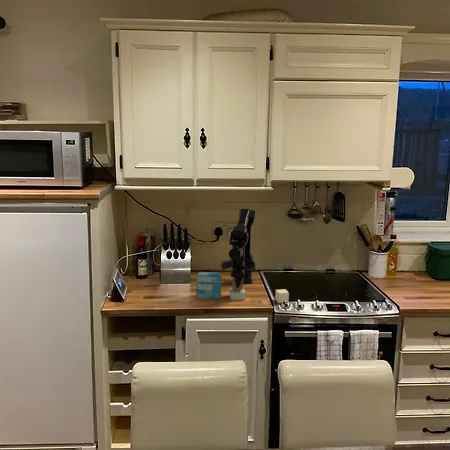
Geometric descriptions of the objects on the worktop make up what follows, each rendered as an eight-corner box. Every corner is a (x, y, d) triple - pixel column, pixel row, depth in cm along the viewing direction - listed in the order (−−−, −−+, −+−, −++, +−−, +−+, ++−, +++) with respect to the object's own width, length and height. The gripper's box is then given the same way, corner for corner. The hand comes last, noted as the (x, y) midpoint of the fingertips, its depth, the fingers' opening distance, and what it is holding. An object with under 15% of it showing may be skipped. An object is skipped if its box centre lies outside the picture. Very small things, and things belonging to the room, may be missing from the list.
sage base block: (229, 295, 231) (229, 288, 231) (243, 295, 232) (243, 287, 231) (231, 300, 224) (231, 292, 224) (245, 300, 225) (245, 292, 225)
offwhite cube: (275, 299, 227) (275, 289, 226) (285, 299, 228) (285, 289, 227) (278, 303, 222) (278, 293, 221) (288, 302, 223) (288, 292, 222)
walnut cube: (232, 286, 230) (233, 276, 229) (242, 286, 230) (243, 276, 229) (232, 289, 225) (232, 279, 224) (242, 289, 225) (243, 279, 224)
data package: (196, 298, 226) (196, 274, 224) (196, 295, 230) (197, 272, 228) (220, 299, 226) (221, 275, 223) (221, 296, 230) (221, 272, 228)
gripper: (223, 249, 234) (222, 279, 237) (220, 259, 215) (219, 291, 218) (245, 250, 233) (244, 280, 236) (244, 260, 215) (243, 292, 218)
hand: (237, 285), depth 227 cm, fingers closed on walnut cube, 5 cm apart
